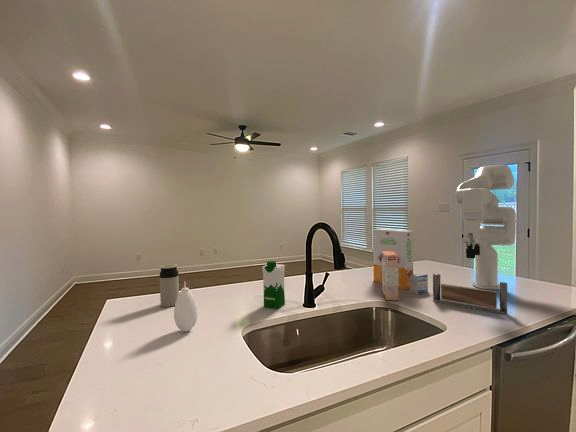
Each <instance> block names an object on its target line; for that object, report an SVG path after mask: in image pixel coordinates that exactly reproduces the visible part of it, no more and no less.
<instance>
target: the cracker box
mask: <svg viewBox="0 0 576 432" xmlns="http://www.w3.org/2000/svg"><path fill="white" fill-rule="evenodd" d="M381 285H382V286H381V291H382V294H383V297H384V299H385V301H395V302H396V301H397V302H398V301H399V288H398V255H397V254H396V253H395V252H393V251H382V283H381Z"/></svg>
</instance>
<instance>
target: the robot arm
mask: <svg viewBox="0 0 576 432" xmlns="http://www.w3.org/2000/svg"><path fill="white" fill-rule="evenodd" d="M514 184H515V179H514V175H513V172H512V169H511V167H510V166H508V165H507V164H496V165H495V164H494V165H493V164H492V165H484V166H481V167H479V168H478V169H477V170H475V174H474V176H473V177H472V178H470V179H468V180H465V181H464V182H462V183H461V184H459V185H458V186H457V188H456V190H455V193H454V202H455V203H456V205H458V206H462V221H463V222H464V223H463V224H464V226H463V227H464V228H463V243H464V244H466V247H465V257H466V259H475V281H473V282H472V284H471V285H472V287H474V286H475V287H474V288H476V289H483V290H490V291H496V290H500V283H498V279H499V278H498V277H499V276H498V274H499V269H498V265H499V264H498V263H499V262H498V261H499V260H498V259H499V258H498V257H499V256H498V252H497V250H496V249H495V247H493V246H512V245H514V244H515V241H516V227H517V225H516V224H517V214H516V211H515V209H514V208H513V207H511V206H499V204H500V203H499V201H500V199H499V197H497V195H496V194H495V193H493V190H494V191H495V190H496V191H497V190H509V189H511V188H513V186H514Z"/></svg>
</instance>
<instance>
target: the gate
mask: <svg viewBox="0 0 576 432" xmlns="http://www.w3.org/2000/svg"><path fill="white" fill-rule="evenodd" d="M440 289H441V299H444V300H450V301H455V302H461V303H467V304H472V305H478V306H484V307H489V308H495V309H496V308H497V306H498V304H497V303H498V302H497V293H498V292H497V291H496V290H489V289H482V288H477V287H469V286H468V287H467V286H462V285H455V284H447V283H440Z"/></svg>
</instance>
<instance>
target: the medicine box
mask: <svg viewBox="0 0 576 432" xmlns="http://www.w3.org/2000/svg"><path fill="white" fill-rule="evenodd" d="M428 278H429V276H428V274H426V273H413V275H410V289H409V292H410V293H414V294H416V295H420V294H423V293H427V292H429V283H428V282H429V280H428Z"/></svg>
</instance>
